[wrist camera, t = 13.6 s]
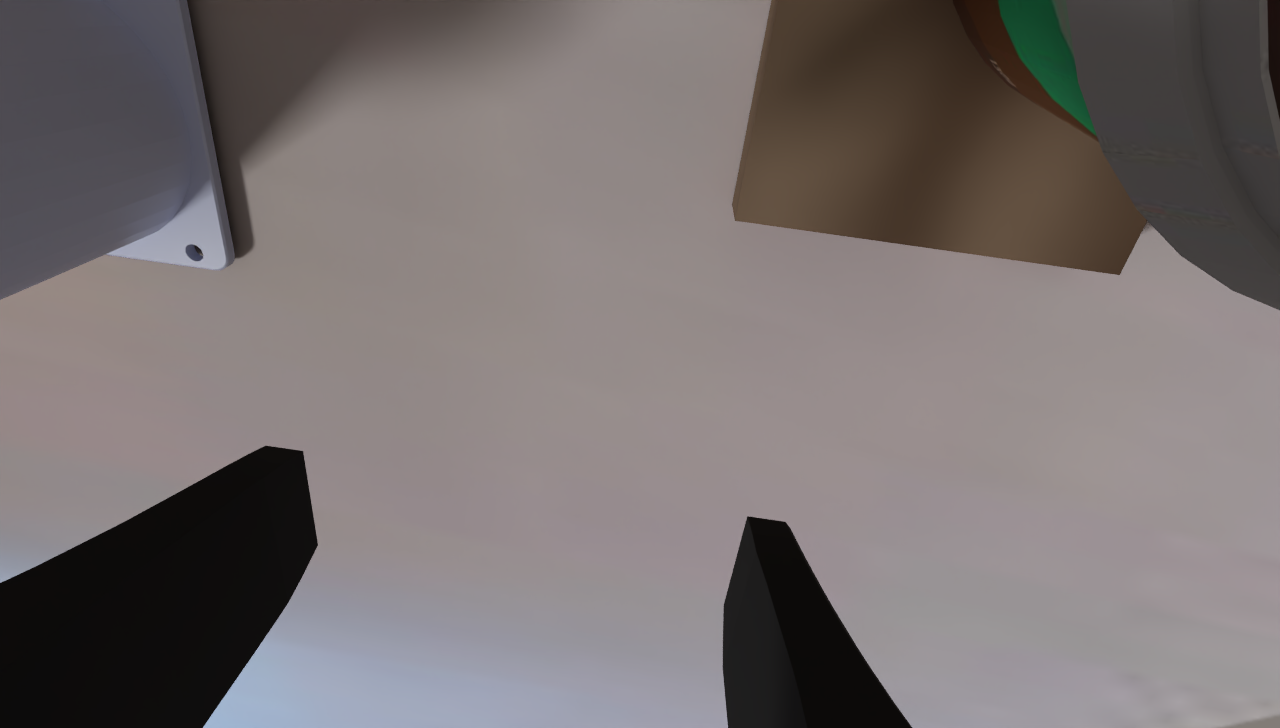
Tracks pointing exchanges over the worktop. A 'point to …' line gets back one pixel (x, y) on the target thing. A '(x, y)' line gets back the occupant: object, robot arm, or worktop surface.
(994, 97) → the walnut base
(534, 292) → the worktop surface
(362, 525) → the worktop surface
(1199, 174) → the food container
